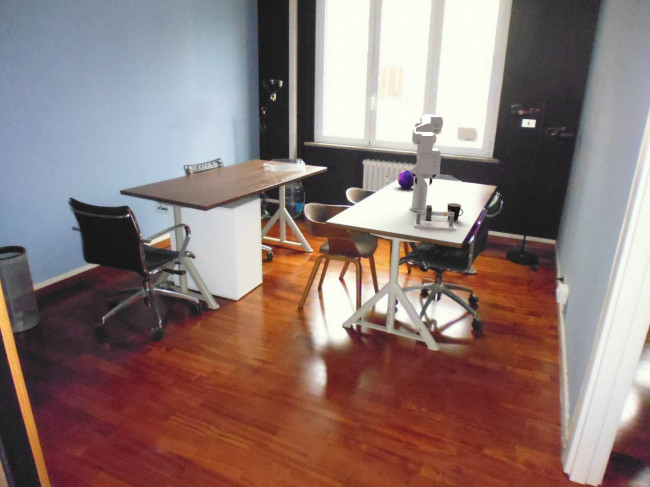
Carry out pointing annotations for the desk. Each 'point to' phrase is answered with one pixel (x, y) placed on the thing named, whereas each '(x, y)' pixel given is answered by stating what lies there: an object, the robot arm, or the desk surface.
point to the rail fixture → (435, 225)
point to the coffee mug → (454, 210)
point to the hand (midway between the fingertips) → (423, 184)
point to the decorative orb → (406, 179)
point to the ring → (428, 212)
